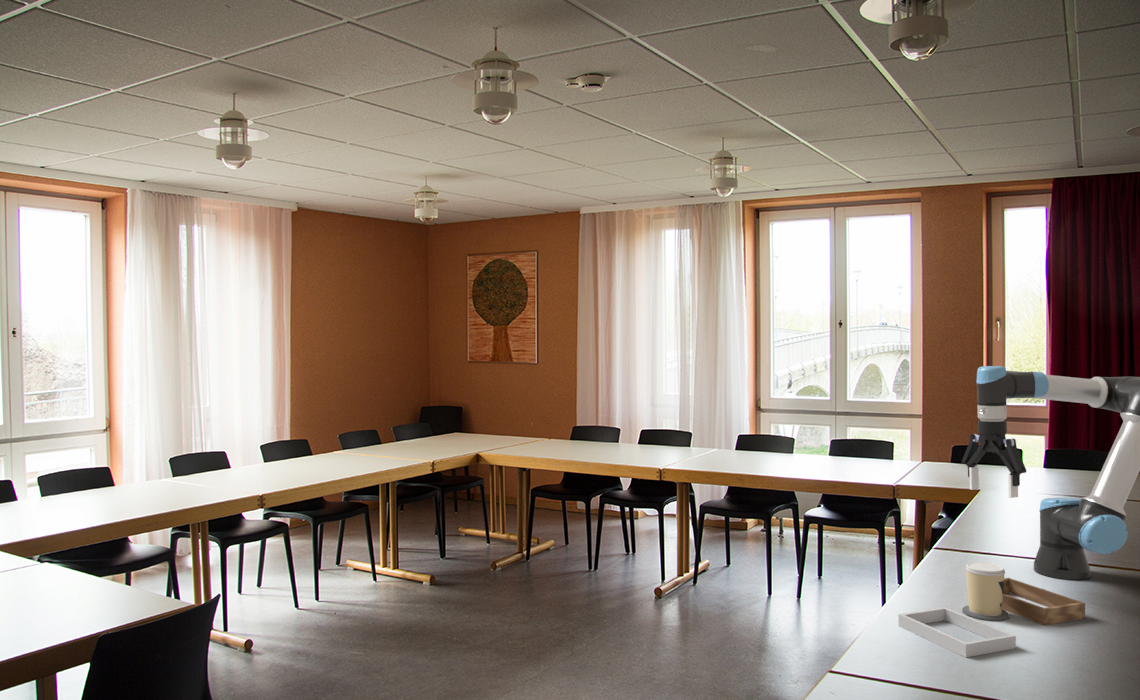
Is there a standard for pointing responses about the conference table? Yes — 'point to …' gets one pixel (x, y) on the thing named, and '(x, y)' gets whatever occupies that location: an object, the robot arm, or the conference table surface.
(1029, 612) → the frame
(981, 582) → the coffee cup
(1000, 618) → the coaster
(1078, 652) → the conference table surface
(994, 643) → the gray rectangular frame
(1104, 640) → the conference table surface
